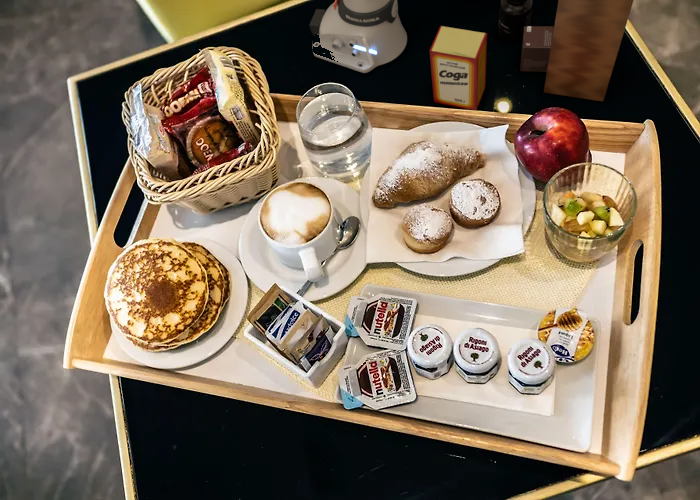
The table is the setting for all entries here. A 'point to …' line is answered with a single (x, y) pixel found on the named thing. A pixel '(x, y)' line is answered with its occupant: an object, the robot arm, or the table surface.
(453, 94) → the baking soda box
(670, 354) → the table surface
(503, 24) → the supplement bottle
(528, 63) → the box
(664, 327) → the table surface
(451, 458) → the table surface
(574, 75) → the wooden high-back chair
